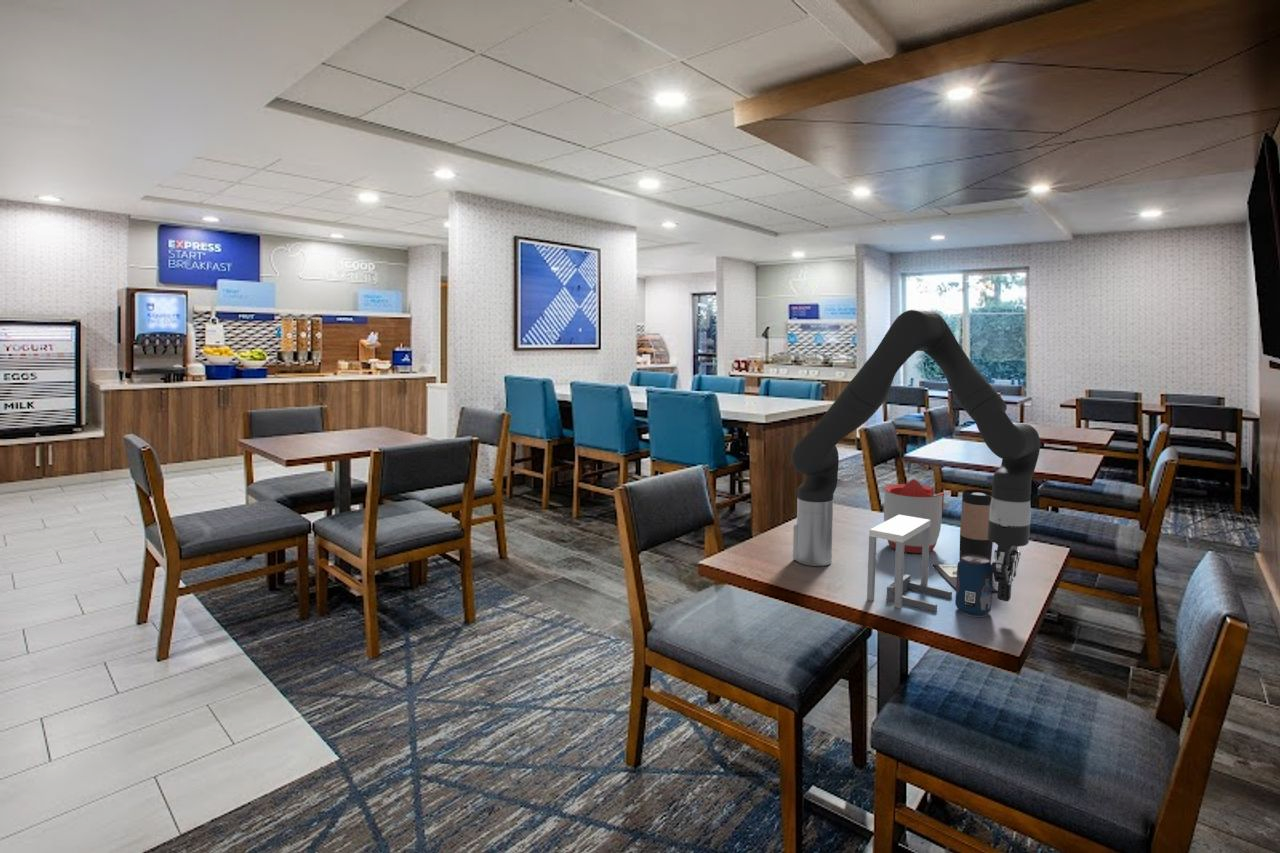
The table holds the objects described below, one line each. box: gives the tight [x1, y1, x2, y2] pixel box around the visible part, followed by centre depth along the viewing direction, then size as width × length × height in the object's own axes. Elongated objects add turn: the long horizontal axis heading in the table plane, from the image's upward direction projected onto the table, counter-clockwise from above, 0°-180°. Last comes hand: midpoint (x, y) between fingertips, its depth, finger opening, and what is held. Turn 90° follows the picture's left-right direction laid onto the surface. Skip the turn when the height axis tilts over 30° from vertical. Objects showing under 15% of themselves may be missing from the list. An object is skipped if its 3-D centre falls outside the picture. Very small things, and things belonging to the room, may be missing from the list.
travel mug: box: [958, 489, 994, 564], centre depth 170 cm, size 8×8×20 cm
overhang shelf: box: [866, 515, 953, 613], centre depth 151 cm, size 14×17×16 cm
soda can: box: [954, 554, 994, 618], centre depth 143 cm, size 7×7×12 cm
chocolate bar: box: [931, 563, 998, 594], centre depth 164 cm, size 9×1×18 cm
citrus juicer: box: [883, 478, 949, 554], centre depth 187 cm, size 16×17×20 cm
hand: (1003, 599), depth 139 cm, fingers closed
